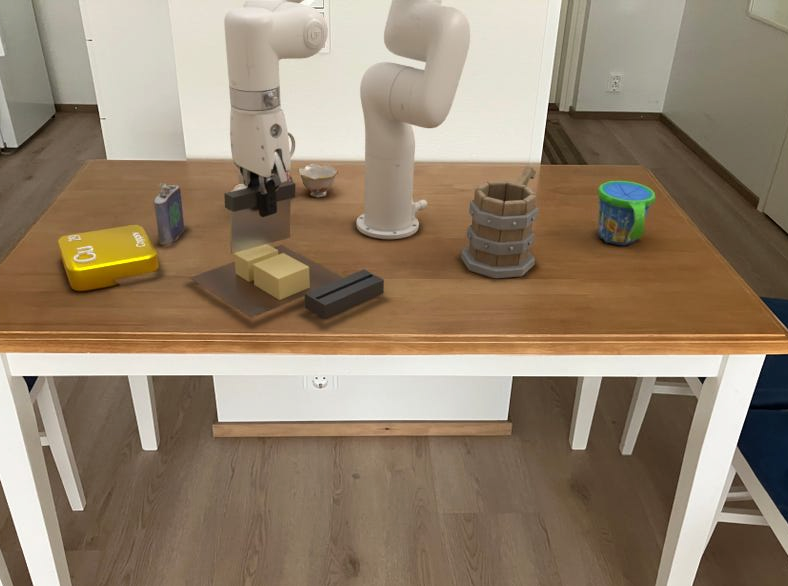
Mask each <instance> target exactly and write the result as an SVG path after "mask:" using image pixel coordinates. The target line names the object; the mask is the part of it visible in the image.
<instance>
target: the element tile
mask: <svg viewBox="0 0 788 586" xmlns="http://www.w3.org/2000/svg"><path fill="white" fill-rule="evenodd" d="M57 245H58V248H59V252H60V253H59V254H60V257H61V261H62V264H63V267H64V270H65V273H66V276H67V278H68V282H69V286H70V288H71V289H72V290H74V291H76V292H89V291H93V290H94V291H95V290H99V289H105V288H111V287H117V286H120V285H121V284H120V283H118V282H117V281H116V280H117V279H123V278H127V277H133V276H139V275H144V274H149V273H153V272H155V271H158V269H159V267H160V265H159V260H158V253H157V251H156V248H155V247H154V245H153V243H152V241H151V240H150V238H149V236H148V234H147V233H146V231H145V228H144V227H143V226H140V225H139V224H129V225H123V226H117V227H111V228H105V229H104V228H103V229H98V230H97V229H96V230H91V231H86V232H85V231H84V232H78V233H72V234H66V235H63V236H61V237H60V238H59V239H58V241H57Z"/></svg>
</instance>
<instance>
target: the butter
mask: <svg viewBox="0 0 788 586" xmlns="http://www.w3.org/2000/svg"><path fill="white" fill-rule="evenodd" d="M253 274H254V285H255V286H257V287H259V288H260V289H262V290H264V291H265V292H267V293H269V294H270V295H272V296H274V297H275V298H277V299H279V300H281V299H283V298H286V297H288V296H291V295H293V294H296V293H298V292H300V291H303V290H305V289H308V288H310V281H309V267H308V266H307V265H305V264H303V263H301V262H299V261H297V260H295V259H294V258H292V257H290V256H288V255H286V254H284V253H282V254H279V255H276V256H274V257H271V258H268V259H265V260H263V261H260V262H257V263H255V264H253Z"/></svg>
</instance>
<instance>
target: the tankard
mask: <svg viewBox="0 0 788 586" xmlns="http://www.w3.org/2000/svg"><path fill="white" fill-rule="evenodd" d="M536 174H537V171H536V170H535V169H534V167H532V166H525V169H524V170H523V172H522V173H521V175H520V176H519V178H518V179H517V180H516V181H515V182H513V181H509V180H508V181H507V180H500V181H486V182H484V183H482V184H481V185H479V186H478V187H476V188H475V189H474V194H473V200H471V201H469V208H468V213H469V215H470V216H471V223H470V225H469V226H468V227H467V230H466V239H467V240H468V242H469V244H468V245H467V246H466V247H465V248H463V249H462V250H461V251H460V258H461V260H462V262H463V263H464V265H465V266H466V268H467V269H468V270H469V272H472V273H475V274H479V275H482V276H485V277H488V278H492V279H508V278H520V277H523V276H524V275H525V274H526V273H527V272H528V271H530V270H531V269H532V268H533V266H535V262H536V258H535V257H534V255H533V254H532V253H531V252H530V251H529V250H530V248H531V247H532V246H533V245H534V241H535V234H536V233H534V230H532V229H533V223H534V222H536V221H537V220H538V215H539V208H538V207H537V205H536V202H537V194H536V193H535V192H534V191H533V189H531V188H530V187H529V186H528V184H529V181H530V180H533V179H535V176H536Z"/></svg>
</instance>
